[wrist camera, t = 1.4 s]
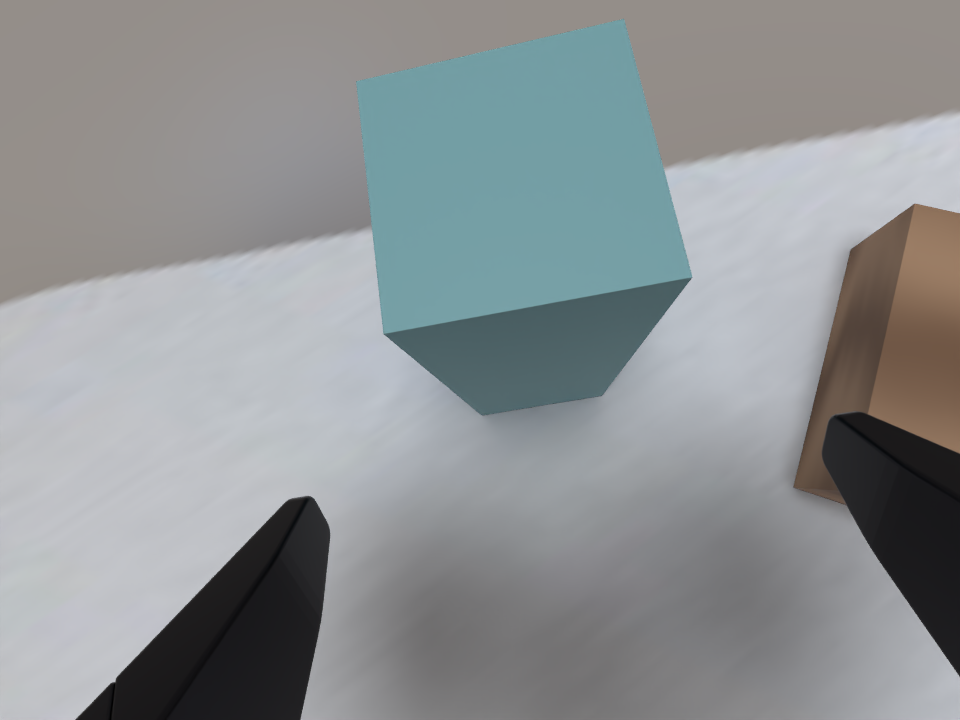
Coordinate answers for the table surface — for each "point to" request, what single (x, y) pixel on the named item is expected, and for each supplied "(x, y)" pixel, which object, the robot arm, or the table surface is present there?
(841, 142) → the table surface
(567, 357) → the teal pillar
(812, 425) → the walnut block
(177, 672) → the robot arm
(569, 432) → the table surface
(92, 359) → the table surface
